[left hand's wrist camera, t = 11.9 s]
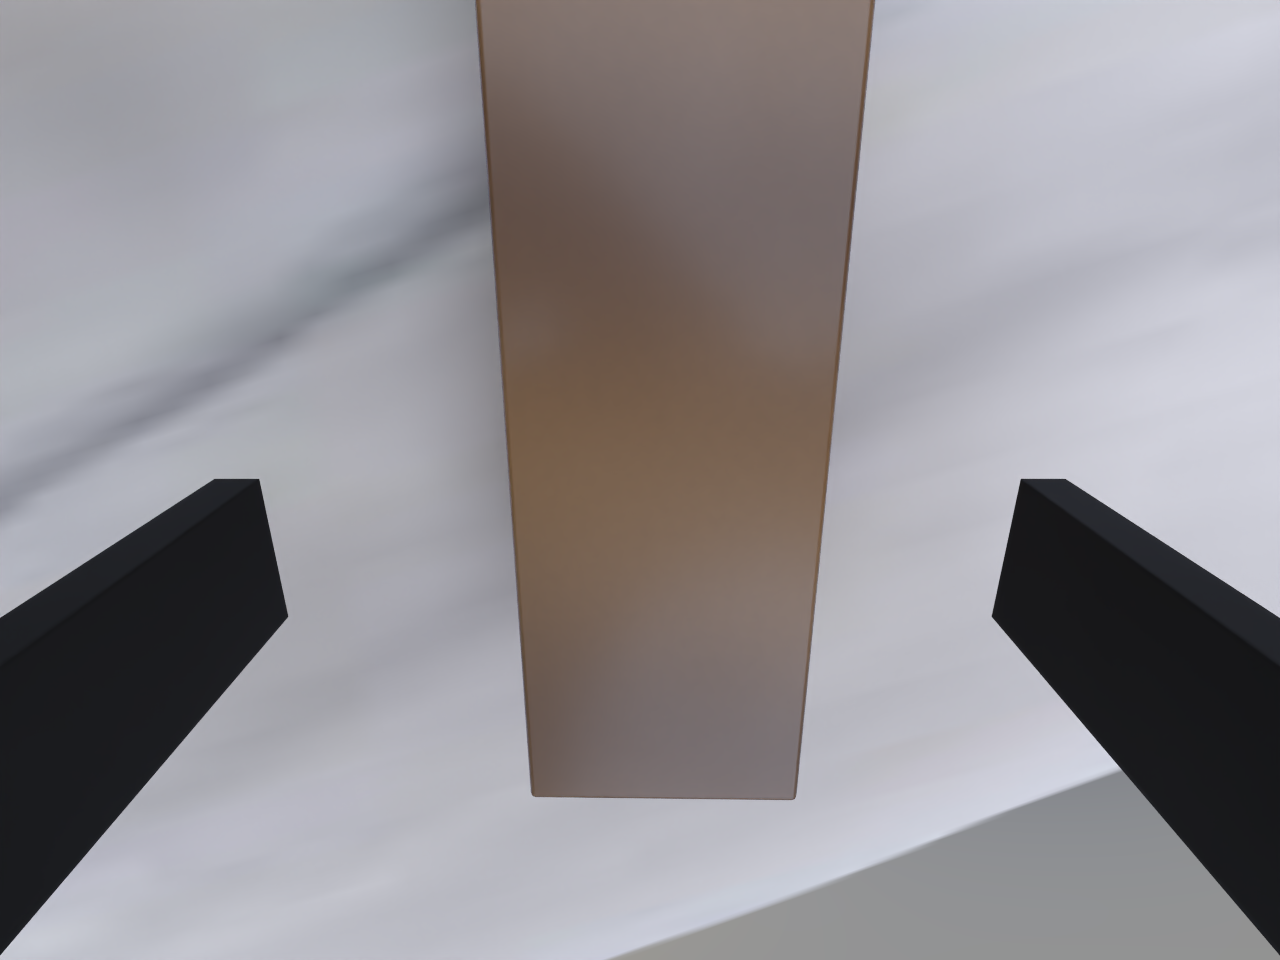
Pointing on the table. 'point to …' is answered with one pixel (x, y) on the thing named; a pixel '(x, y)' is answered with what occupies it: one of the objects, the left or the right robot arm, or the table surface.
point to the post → (669, 372)
